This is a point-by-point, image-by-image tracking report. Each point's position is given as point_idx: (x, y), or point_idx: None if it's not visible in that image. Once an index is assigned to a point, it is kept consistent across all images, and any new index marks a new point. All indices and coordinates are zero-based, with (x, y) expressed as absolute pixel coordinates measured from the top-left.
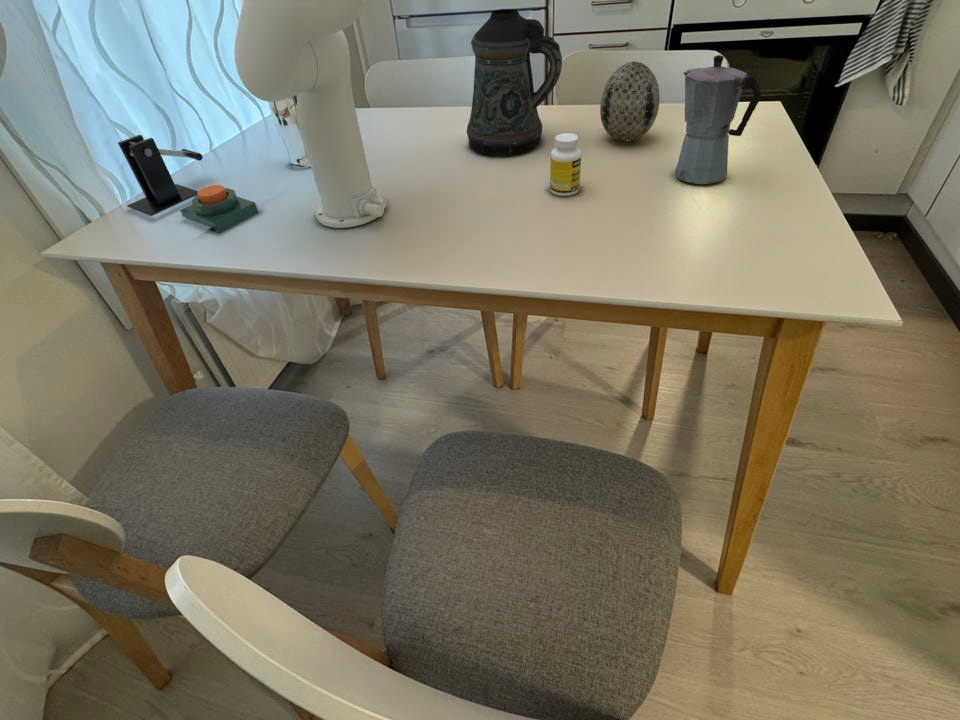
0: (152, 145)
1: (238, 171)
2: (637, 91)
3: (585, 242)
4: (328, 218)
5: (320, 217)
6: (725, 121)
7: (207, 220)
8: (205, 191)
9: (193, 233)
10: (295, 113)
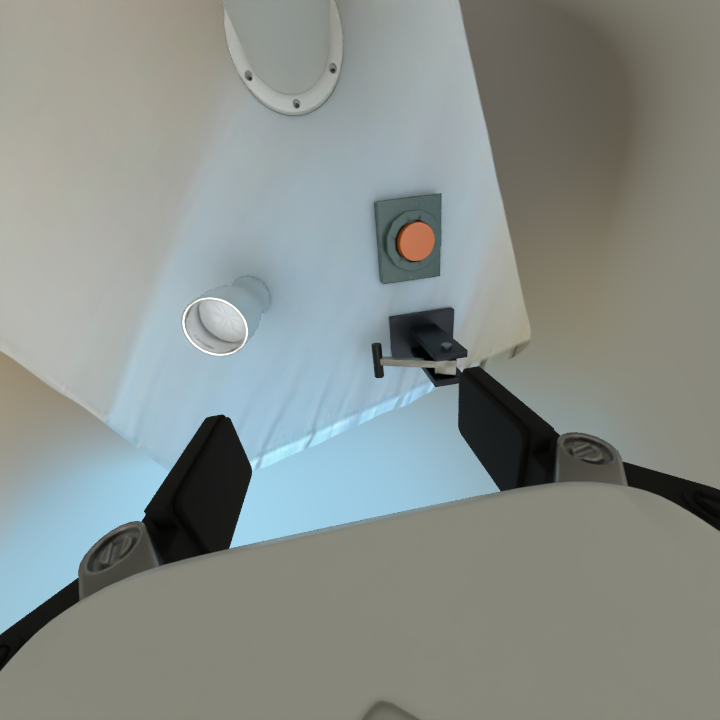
0: (437, 351)
1: (323, 351)
2: None
3: None
4: (333, 34)
5: (339, 56)
6: None
7: (440, 210)
8: (422, 245)
9: (448, 230)
10: (224, 288)
